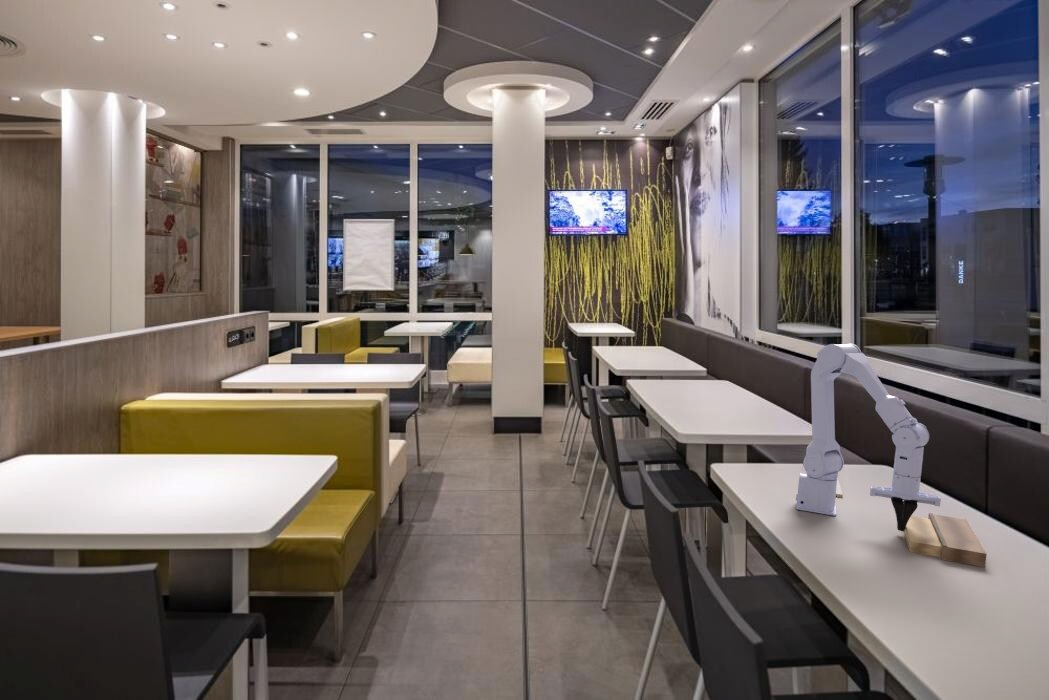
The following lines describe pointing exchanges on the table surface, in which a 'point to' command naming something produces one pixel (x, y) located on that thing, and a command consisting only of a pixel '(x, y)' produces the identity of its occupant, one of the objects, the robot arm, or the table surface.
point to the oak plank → (922, 537)
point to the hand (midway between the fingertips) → (900, 529)
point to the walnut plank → (958, 540)
